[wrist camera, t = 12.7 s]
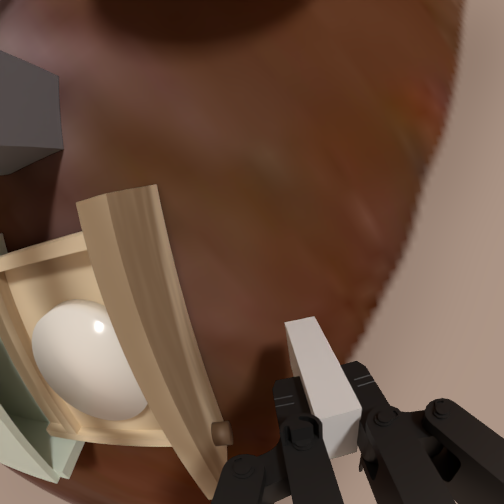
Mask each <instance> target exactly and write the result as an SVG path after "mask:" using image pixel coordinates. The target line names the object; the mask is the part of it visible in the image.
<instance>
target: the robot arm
mask: <svg viewBox="0 0 504 504" xmlns="http://www.w3.org/2000/svg"><path fill="white" fill-rule="evenodd" d="M285 328H286V335H287V342H288V349H289V356H290V364H291V368H292V371H293V375H294V377H291V378H286V379H281V380H276V382H275V384H274V387H273V389H272V390H273V396H274V401H275V407H276V412H277V418H278V424H279V429H280V440H279V442H278V444H277V445H276V447H274V448H273V449H272V450H271V451H269V452H267V453H265V454H263V455H260V456H258V457H256V456H253V455H249V454H243V455H237V456H235V457H232V458H231V459H229V460H228V461H227V462H226V463H225V465H224V466H223V468H222V471H221V475H220V478H219V481H218V484H217V487H216V490H215V493H214V496H213V499H212V502H211V504H274V502H277V501H279V500H281V499H283V498H285V497H288V496H290V495H292V500H293V504H344V503H343V499H342V496H341V493H340V490H339V487H338V484H337V480H336V477H335V475H334V471H333V468H332V465H331V462H330V459H333V458H337V457H341V456H344V455H348V454H351V453H354V452H357V446H358V447H359V449H360V451H361V458H360V464H359V472H361V471H362V469H363V468H364V471H365V474H366V476H367V479H368V481H369V484H370V486H371V489H372V492H373V494H374V497H375V499H376V502H377V504H456V503H455V501H456V502H457V503H458V504H504V438H502V437H501V436H499V435H498V434H497V433H495V432H494V431H493V430H491V429H490V428H488V427H487V426H486V425H485V424H483V423H482V422H481V421H479V420H477V419H476V418H475V417H474V416H472V415H471V414H470V413H468V412H467V411H466V410H464V409H463V408H461V407H460V406H459V405H458V404H456V403H455V402H453V401H451V400H449V399H444V398H441V399H435V400H433V401H431V402H430V403H429V404H428V405H427V406H426V409H425V410H422V411H415V412H401V411H400V410H399V409H398V408H395V407H393V406H390V404H389V403H388V402H387V400H386V398H385V397H384V395H383V394H382V392H381V390H380V389H379V387H378V385H377V384H376V382H374V379H373V377H372V376H371V375H370V373H369V371H368V369H367V368H366V366H364V365H363V364H361V363H359V362H358V361H354V362H351V363H347V364H343V365H340V364H339V362H338V360H337V358H336V356H335V355H334V353H333V351H332V349H331V347H330V345H329V343H328V341H327V339H326V337H325V336H324V334H323V332H322V330H321V328H320V326H319V324H318V322H317V321H316V319H315V317H314V316H313V317H309V318H304V319H299V320H295V321H290V322H285ZM454 500H455V501H454Z"/></svg>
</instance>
